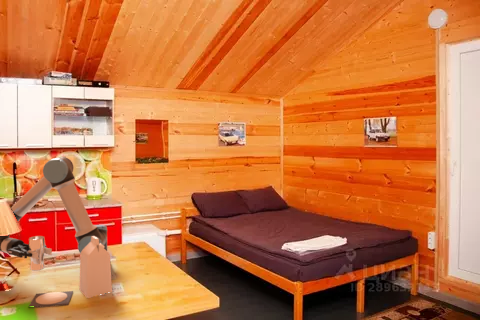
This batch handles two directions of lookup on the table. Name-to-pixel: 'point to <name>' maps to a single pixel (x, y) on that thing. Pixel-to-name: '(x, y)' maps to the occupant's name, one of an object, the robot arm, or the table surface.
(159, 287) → the table surface
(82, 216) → the robot arm
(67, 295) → the mat
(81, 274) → the milk
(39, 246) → the beer glass
